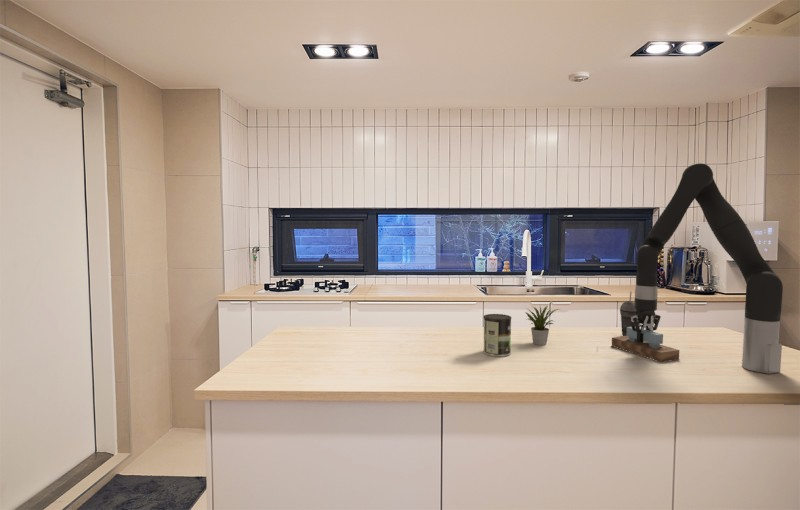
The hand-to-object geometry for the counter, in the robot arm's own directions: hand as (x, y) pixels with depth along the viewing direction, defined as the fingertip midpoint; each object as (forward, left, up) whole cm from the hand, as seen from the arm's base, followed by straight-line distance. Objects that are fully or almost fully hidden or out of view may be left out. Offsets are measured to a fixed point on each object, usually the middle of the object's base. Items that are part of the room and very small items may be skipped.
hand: (644, 341), depth 168 cm
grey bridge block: (0, 0, -2) cm, 2 cm away
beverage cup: (+20, -14, -4) cm, 25 cm away
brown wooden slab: (0, 0, -4) cm, 4 cm away
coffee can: (+19, +53, -4) cm, 56 cm away
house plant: (+24, +28, -4) cm, 37 cm away
